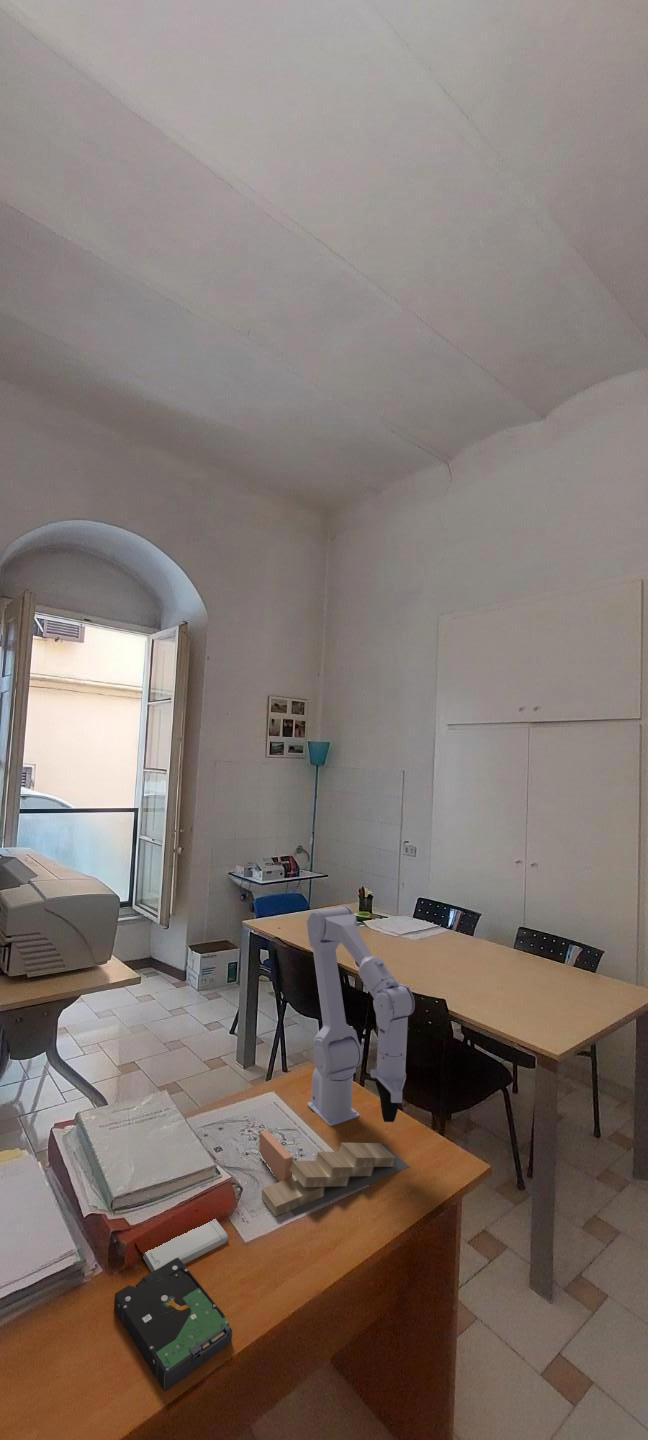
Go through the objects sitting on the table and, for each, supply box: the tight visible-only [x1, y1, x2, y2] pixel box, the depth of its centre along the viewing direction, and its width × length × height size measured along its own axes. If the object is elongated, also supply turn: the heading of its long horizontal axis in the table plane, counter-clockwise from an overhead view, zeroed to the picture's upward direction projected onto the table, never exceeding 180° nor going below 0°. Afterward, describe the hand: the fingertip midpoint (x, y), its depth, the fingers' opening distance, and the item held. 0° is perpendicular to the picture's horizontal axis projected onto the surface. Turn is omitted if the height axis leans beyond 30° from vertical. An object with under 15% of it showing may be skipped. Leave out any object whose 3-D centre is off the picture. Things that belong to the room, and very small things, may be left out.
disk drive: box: [113, 1258, 233, 1392], centre depth 85 cm, size 10×3×15 cm
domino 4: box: [314, 1151, 374, 1177], centre depth 116 cm, size 2×5×10 cm
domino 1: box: [258, 1129, 294, 1182], centre depth 117 cm, size 2×5×10 cm
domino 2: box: [261, 1175, 324, 1217], centre depth 110 cm, size 2×5×10 cm
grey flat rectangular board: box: [289, 1143, 411, 1217], centre depth 116 cm, size 8×26×1 cm, turn 124°
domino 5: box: [338, 1142, 396, 1167], centre depth 119 cm, size 2×5×10 cm
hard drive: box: [142, 1218, 229, 1273], centre depth 99 cm, size 2×8×12 cm
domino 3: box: [290, 1160, 349, 1187], centre depth 113 cm, size 2×5×10 cm
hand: (388, 1119), depth 122 cm, fingers closed
